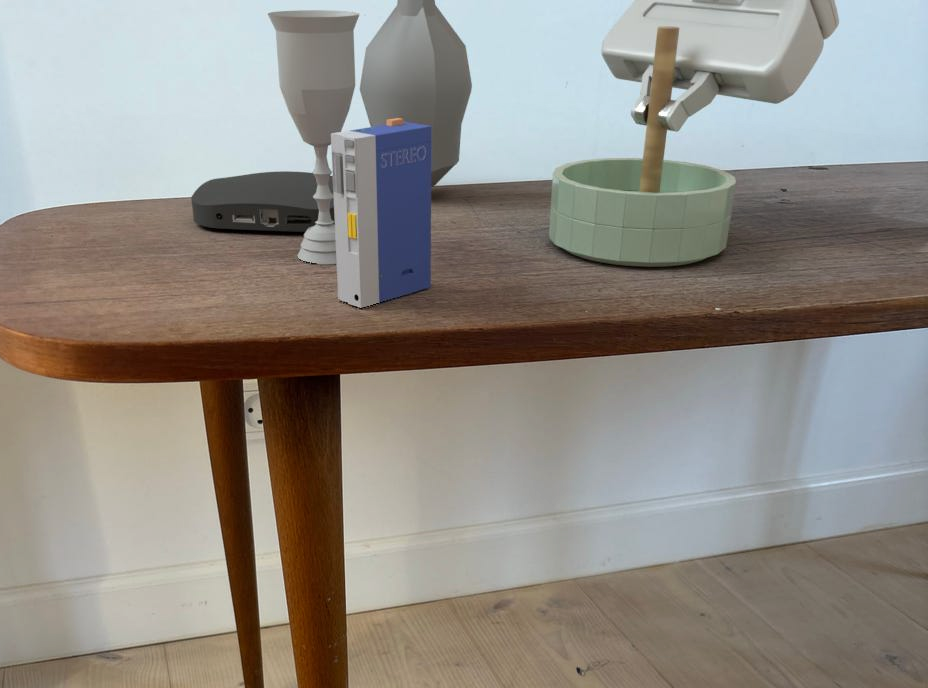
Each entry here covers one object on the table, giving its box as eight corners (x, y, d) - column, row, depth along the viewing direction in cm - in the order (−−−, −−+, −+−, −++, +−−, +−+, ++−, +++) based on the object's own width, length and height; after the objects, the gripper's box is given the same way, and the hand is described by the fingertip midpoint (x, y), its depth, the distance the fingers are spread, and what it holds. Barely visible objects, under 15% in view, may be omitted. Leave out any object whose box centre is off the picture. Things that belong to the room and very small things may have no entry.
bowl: (744, 238, 97) (755, 169, 94) (694, 280, 86) (706, 202, 83) (586, 218, 103) (592, 152, 100) (521, 254, 92) (524, 180, 88)
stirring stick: (677, 216, 96) (702, 26, 88) (661, 226, 93) (686, 30, 84) (631, 210, 98) (651, 23, 89) (615, 219, 95) (634, 27, 86)
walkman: (405, 280, 85) (404, 116, 78) (431, 287, 83) (432, 120, 76) (334, 301, 80) (326, 128, 73) (360, 309, 78) (354, 133, 72)
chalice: (324, 241, 95) (312, 8, 84) (384, 254, 91) (378, 13, 81) (267, 259, 90) (247, 13, 79) (328, 272, 86) (315, 18, 76)
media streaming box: (365, 202, 108) (364, 170, 106) (339, 237, 96) (338, 202, 94) (226, 197, 109) (223, 166, 107) (183, 231, 97) (178, 197, 95)
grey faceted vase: (467, 184, 116) (474, -158, 99) (473, 208, 106) (482, -166, 89) (365, 184, 115) (354, -160, 98) (361, 207, 106) (349, -168, 89)
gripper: (642, -48, 94) (554, 81, 95) (836, -39, 81) (731, 112, 82) (670, 8, 99) (585, 131, 100) (856, 25, 86) (758, 167, 87)
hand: (652, 123), depth 91 cm, fingers closed on stirring stick, 2 cm apart
